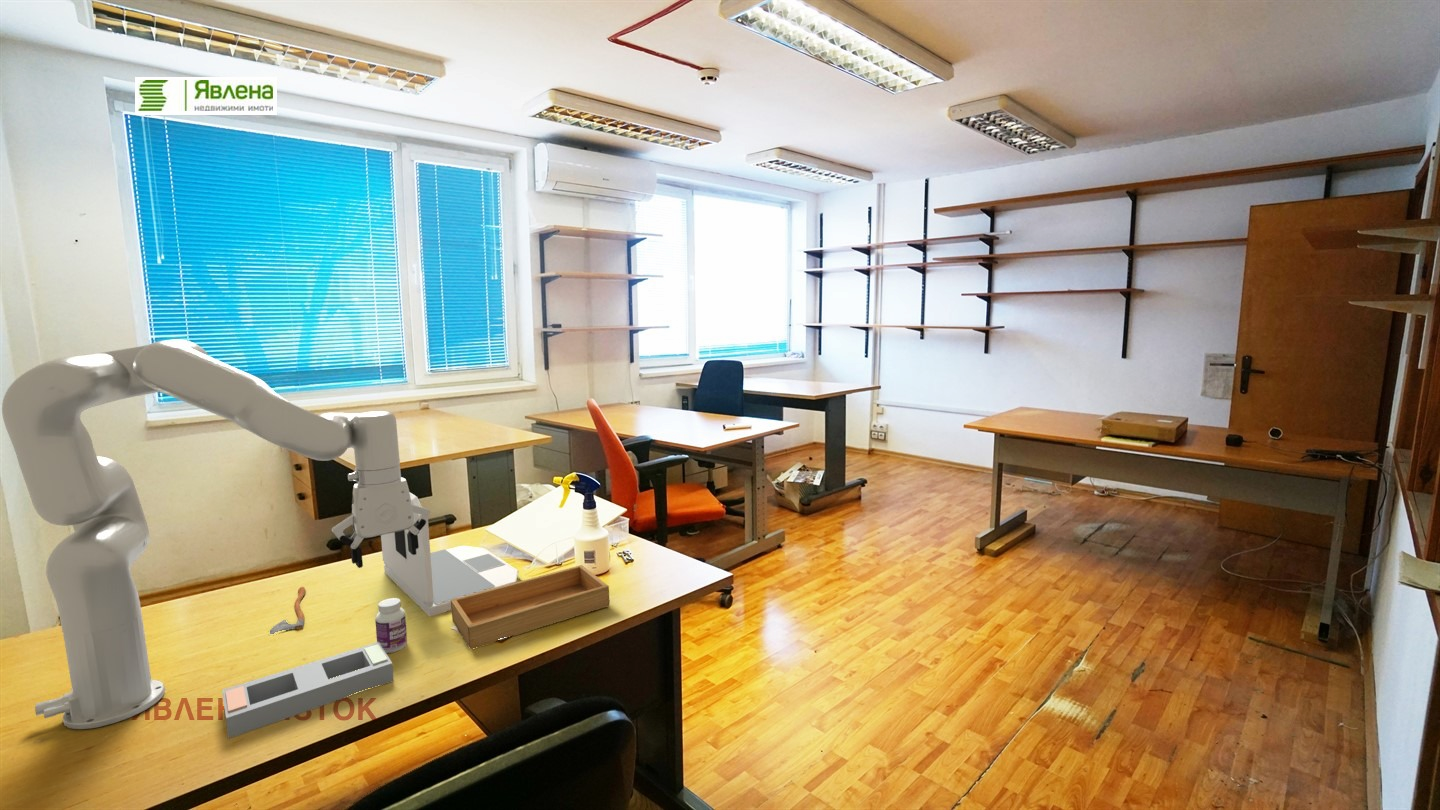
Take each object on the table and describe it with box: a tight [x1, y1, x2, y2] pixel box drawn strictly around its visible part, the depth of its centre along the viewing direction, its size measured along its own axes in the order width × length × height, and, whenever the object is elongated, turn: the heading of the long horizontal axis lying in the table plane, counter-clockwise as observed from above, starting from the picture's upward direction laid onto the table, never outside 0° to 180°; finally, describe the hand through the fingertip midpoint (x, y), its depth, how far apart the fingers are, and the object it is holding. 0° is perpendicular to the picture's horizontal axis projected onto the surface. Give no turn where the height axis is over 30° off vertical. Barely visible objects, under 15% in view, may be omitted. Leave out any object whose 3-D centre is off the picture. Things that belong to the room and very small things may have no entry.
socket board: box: [221, 641, 395, 739], centre depth 111 cm, size 24×10×4 cm, turn 131°
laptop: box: [380, 491, 519, 617], centre depth 158 cm, size 33×24×26 cm
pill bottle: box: [374, 597, 408, 654], centre depth 126 cm, size 5×5×10 cm
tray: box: [451, 565, 611, 650], centre depth 140 cm, size 31×15×6 cm, turn 126°
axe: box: [269, 586, 307, 634], centre depth 142 cm, size 22×6×2 cm, turn 32°
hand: (386, 559), depth 124 cm, fingers open, 9 cm apart
